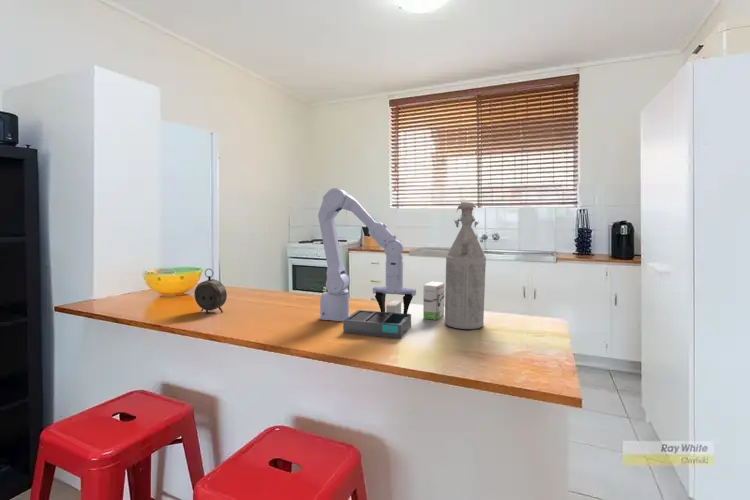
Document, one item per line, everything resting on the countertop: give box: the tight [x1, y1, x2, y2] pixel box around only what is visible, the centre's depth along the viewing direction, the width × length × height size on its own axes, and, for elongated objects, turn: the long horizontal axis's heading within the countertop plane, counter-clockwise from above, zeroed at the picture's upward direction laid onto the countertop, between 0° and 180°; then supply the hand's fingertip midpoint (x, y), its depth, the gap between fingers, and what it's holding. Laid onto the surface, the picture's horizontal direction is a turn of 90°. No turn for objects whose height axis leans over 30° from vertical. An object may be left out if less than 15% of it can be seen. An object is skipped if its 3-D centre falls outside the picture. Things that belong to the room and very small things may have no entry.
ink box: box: [422, 280, 446, 321], centre depth 136 cm, size 9×5×12 cm, turn 151°
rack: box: [342, 309, 412, 340], centre depth 121 cm, size 18×13×4 cm
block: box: [385, 300, 402, 313], centre depth 132 cm, size 3×8×6 cm, turn 162°
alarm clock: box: [194, 268, 228, 314], centre depth 142 cm, size 11×5×16 cm, turn 76°
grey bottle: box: [444, 201, 487, 330], centre depth 126 cm, size 13×17×40 cm
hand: (394, 315), depth 132 cm, fingers open, 7 cm apart
